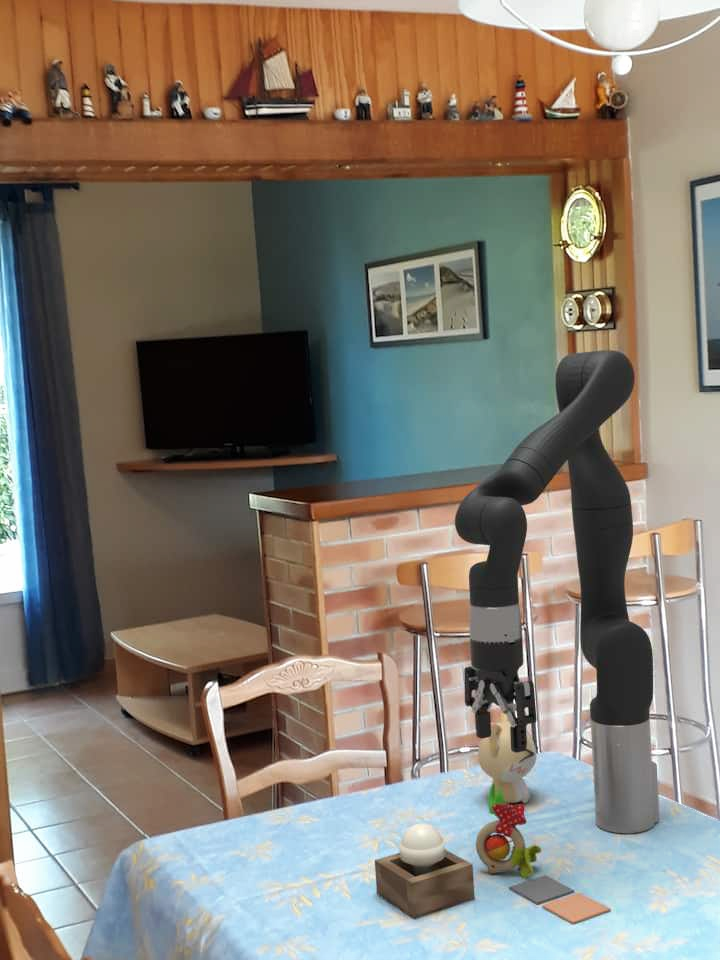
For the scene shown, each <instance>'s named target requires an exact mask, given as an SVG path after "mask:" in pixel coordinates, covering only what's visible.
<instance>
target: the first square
mask: <svg viewBox="0 0 720 960" xmlns="http://www.w3.org/2000/svg"><path fill="white" fill-rule="evenodd" d="M508 890H510V891H512V892H514V893H516V894H517V895H520V896H521V897H523V898H525V899H526V900H528V901H530V902H532V903H534V904H536V905H541V904H543V903H544V904H545V903H546V902H547V903H548V902H549V901H550V902H551V901H554V900H557V899H558V898H563V897H566V896H569V895H571V894H573V893H575V889H573V888H571V887H569V886H567V885H565V884H563V883H562V882H559V881H558V880H555V879H554V878H551V877H550V876H547V875H546V874H543V875H541V876H539V877H535V878H532V879H527V880H525V881H523V882H520V883H516V884H513V885H511V886H508Z"/></svg>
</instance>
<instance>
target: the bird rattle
mask: <svg viewBox="0 0 720 960" xmlns="http://www.w3.org/2000/svg"><path fill="white" fill-rule="evenodd" d="M525 808H526V806H525V803H520V804H513V805H512V804H511V803H506V804H497V803H495V804H493V805H492V809H493V811H494V813H493V814H494V815H495V814H496V817H497V819H498V820H493V821H490V822H488V823H487V824H485V825H484V826H483V827H482V828H481V829H480V830H479V832H478V833H477V836H476V839H475V840H476V841H475V850H476V853H477V856H478V857H479V860H480V861H481V862H482V863H483V865H484V866H486V867H487V869H488V873H489V874H490V875H494V874H496V873H497V872H508V871H511V870H513V869H514V868H517V869H518V870H520V875H521V877H522V878H524V879H527V878H528V877H529V875H531V874H533V872H534V868H533V866H532V864H531V863H535V862H537V854H540V853H541V852H542V848H541V847H540V846H538V845H536V844H533V845H531V846H529V847H526V843H525V838H524V836H523V834H522V832H521V831H520V830H519V829H518V828H517V827H516V826H519V825H520V826H522V825H526V824H527V819H526V817H525ZM508 838H510V839H511V840H509V839H508ZM510 843H513V846H512V851H511V845H510ZM510 853H511V854H510ZM509 854H510V856H509ZM508 856H509V858H507V857H508Z"/></svg>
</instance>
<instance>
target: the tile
mask: <svg viewBox="0 0 720 960" xmlns="http://www.w3.org/2000/svg"><path fill="white" fill-rule="evenodd" d="M541 908H543V909H545V910H546V911H548V912H550V913H552V914H553V915H555V916H557V917H559V918H561V919H563V920H564V921H566V922H568V923H570V924H571V925H576V924H578V923H581V922H584V921H587V920H588V919H591V918H595V917H598V916H600V915H602V914H606V913H609V912H611V911H612V909H611V908H610V907H608V906H606V905H605V904H602V903H601V902H598V901H597V900H594V899H593V898H591V897H589V896H587V895H584V894H583V893H581V892H576V893H574V894H573V893H572V894H569V895H566V896H563V897H560V899H558V898H557V899H554V900H552V901H550V902H547V903H544V904H542V905H541Z"/></svg>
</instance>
